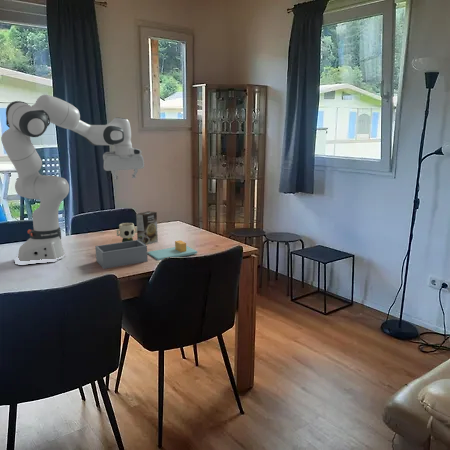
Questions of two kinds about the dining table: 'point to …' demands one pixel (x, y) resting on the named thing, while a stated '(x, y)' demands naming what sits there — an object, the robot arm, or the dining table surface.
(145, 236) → the coffee box
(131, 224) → the character mug
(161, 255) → the lid
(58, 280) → the dining table surface
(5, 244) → the dining table surface
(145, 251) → the tub
